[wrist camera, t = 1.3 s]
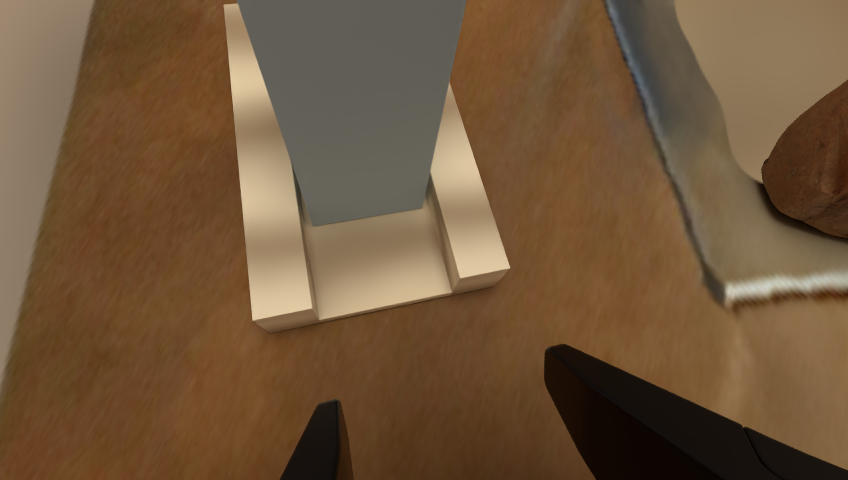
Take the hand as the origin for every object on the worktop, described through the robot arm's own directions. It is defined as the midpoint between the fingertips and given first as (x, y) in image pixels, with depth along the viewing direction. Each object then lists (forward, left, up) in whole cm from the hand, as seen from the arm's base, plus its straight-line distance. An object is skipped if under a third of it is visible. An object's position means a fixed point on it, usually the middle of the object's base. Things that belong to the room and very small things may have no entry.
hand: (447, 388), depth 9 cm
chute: (+12, +7, -13) cm, 19 cm away
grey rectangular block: (+11, +6, -13) cm, 18 cm away
